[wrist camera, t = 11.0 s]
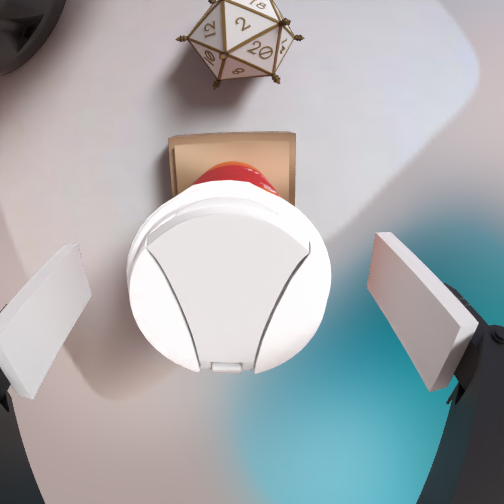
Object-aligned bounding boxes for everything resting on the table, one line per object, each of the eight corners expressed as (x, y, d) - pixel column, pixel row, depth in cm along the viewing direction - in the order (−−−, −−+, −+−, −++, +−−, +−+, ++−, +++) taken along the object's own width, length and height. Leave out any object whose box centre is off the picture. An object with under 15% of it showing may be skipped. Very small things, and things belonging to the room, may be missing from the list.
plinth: (176, 135, 26) (166, 138, 22) (289, 131, 26) (297, 134, 23) (184, 239, 30) (177, 257, 27) (287, 235, 30) (294, 253, 27)
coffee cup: (280, 247, 27) (319, 383, 13) (182, 244, 26) (135, 378, 12) (288, 147, 23) (360, 197, 9) (181, 144, 23) (100, 190, 9)
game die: (260, 46, 26) (344, 28, 19) (221, 112, 26) (307, 107, 19) (193, -9, 20) (271, -54, 12) (141, 58, 20) (209, 17, 13)
